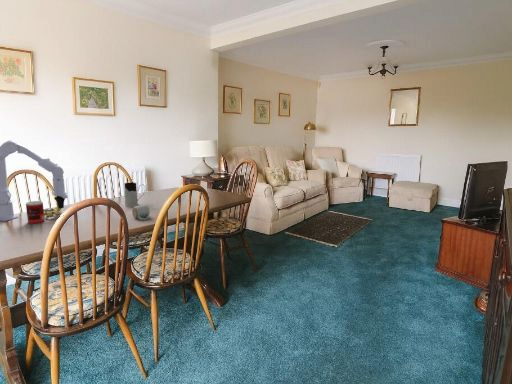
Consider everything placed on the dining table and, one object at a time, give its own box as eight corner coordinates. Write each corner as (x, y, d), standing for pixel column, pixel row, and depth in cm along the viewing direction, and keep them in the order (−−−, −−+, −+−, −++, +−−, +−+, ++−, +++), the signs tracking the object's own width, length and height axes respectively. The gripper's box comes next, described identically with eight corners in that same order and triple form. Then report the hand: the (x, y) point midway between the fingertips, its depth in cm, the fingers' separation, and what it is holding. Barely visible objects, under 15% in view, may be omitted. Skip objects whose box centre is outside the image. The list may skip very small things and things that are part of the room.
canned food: (40, 219, 182) (38, 200, 179) (47, 221, 178) (45, 202, 175) (25, 222, 175) (22, 202, 173) (32, 225, 171) (30, 205, 169)
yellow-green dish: (49, 216, 182) (48, 207, 181) (35, 214, 185) (34, 206, 184) (67, 210, 195) (66, 202, 194) (54, 209, 197) (53, 201, 196)
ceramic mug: (131, 217, 192) (131, 204, 190) (144, 214, 198) (144, 202, 196) (138, 221, 185) (138, 208, 183) (152, 219, 190) (152, 206, 188)
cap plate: (29, 217, 183) (28, 211, 182) (48, 211, 196) (48, 205, 196) (50, 220, 181) (49, 213, 180) (69, 213, 194) (68, 207, 193)
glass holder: (122, 204, 220) (121, 182, 217) (143, 201, 228) (143, 181, 225) (126, 207, 213) (125, 185, 210) (147, 204, 221) (147, 183, 218)
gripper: (71, 186, 190) (73, 208, 193) (60, 183, 198) (62, 204, 201) (59, 188, 185) (61, 211, 187) (47, 185, 193) (49, 207, 195)
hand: (61, 208), depth 194 cm, fingers closed, pressing on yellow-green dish
